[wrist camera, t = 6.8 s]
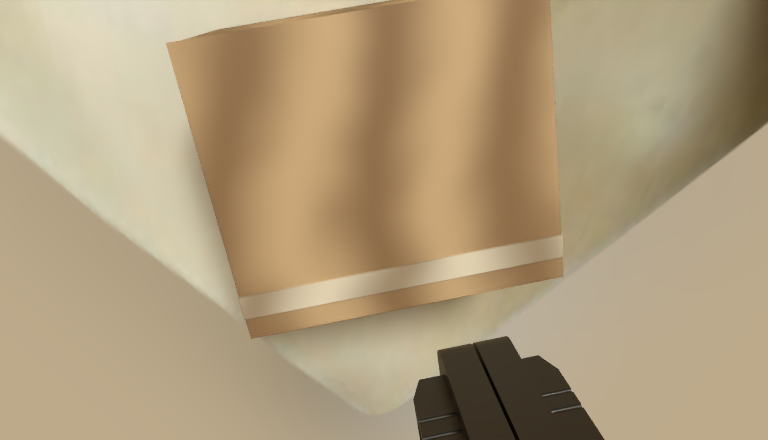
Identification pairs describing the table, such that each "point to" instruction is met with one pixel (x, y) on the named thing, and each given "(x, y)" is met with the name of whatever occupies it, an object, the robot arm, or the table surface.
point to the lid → (378, 156)
